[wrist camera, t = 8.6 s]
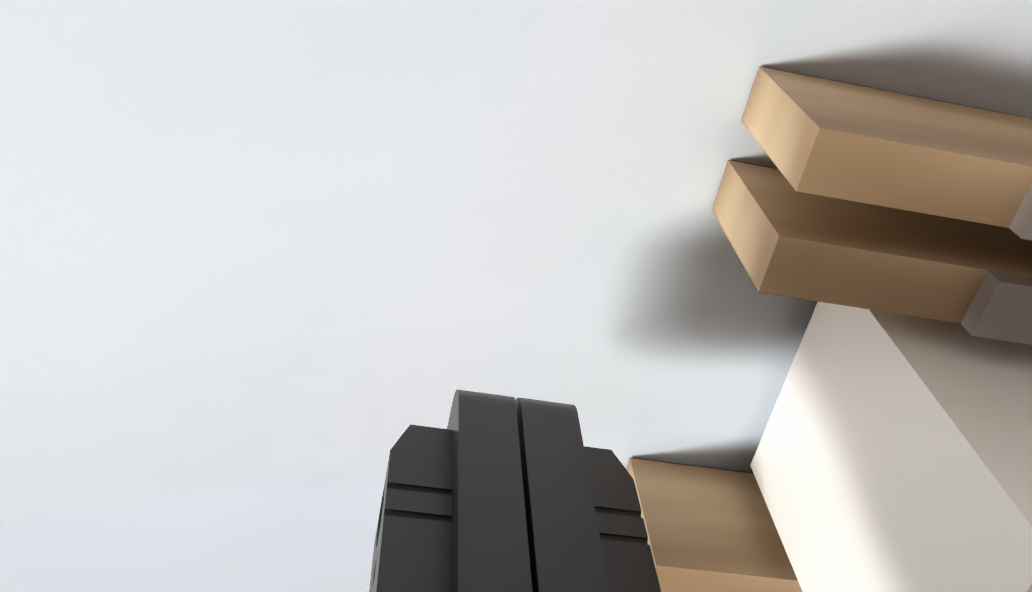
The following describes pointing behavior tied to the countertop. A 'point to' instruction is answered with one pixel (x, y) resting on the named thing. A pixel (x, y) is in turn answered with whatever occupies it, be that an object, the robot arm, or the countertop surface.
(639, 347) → the countertop surface
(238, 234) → the countertop surface
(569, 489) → the robot arm
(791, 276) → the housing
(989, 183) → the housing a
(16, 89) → the countertop surface
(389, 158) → the countertop surface
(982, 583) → the tab
